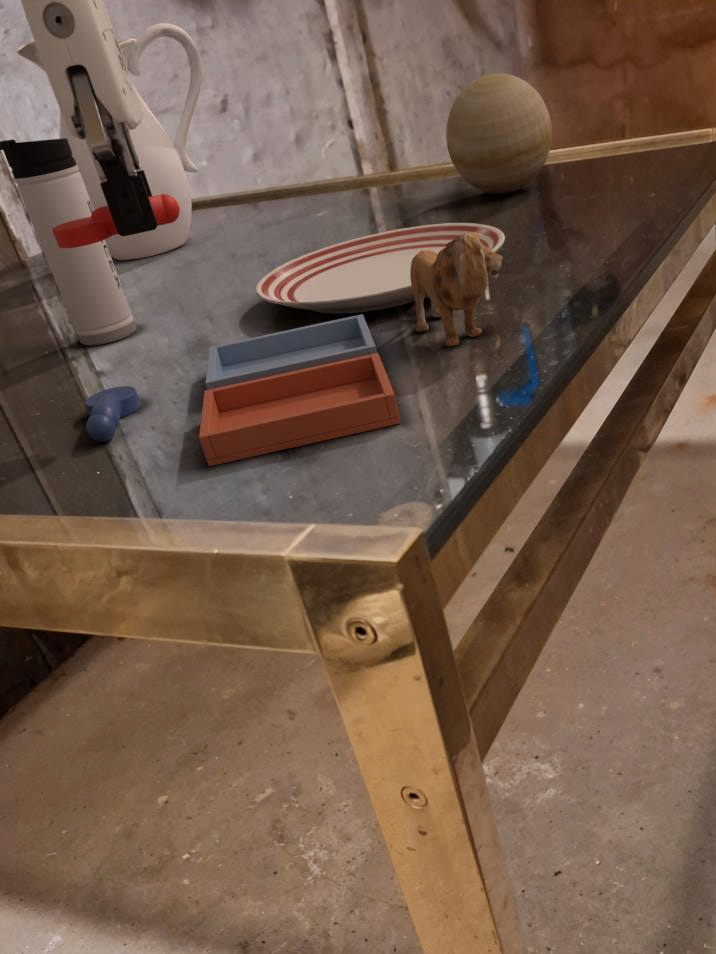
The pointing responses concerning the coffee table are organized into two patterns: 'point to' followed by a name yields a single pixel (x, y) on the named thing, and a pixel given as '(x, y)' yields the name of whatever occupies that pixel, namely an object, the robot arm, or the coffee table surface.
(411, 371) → the coffee table surface
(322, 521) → the coffee table surface
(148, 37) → the pitcher
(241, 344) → the blue tray
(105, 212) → the red spoon
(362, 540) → the coffee table surface
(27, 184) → the travel mug
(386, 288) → the dinner plate
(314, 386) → the red tray
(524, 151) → the decorative ball
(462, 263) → the lion figurine
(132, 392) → the blue spoon
